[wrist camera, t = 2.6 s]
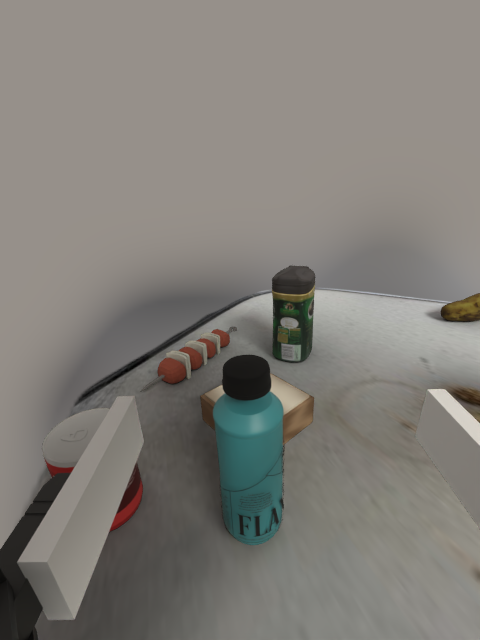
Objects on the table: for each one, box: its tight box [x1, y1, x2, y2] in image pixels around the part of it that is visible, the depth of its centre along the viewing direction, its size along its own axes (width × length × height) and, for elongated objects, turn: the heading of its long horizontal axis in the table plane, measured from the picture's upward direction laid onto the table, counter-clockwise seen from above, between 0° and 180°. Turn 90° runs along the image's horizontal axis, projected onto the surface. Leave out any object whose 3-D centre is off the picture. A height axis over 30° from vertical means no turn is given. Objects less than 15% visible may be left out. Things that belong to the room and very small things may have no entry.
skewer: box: [140, 327, 237, 392], centre depth 63 cm, size 5×5×30 cm
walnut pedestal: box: [200, 373, 314, 444], centre depth 46 cm, size 12×12×5 cm
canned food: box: [42, 408, 143, 532], centre depth 33 cm, size 8×8×11 cm
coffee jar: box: [272, 266, 315, 362], centre depth 62 cm, size 10×8×19 cm
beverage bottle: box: [213, 355, 285, 545], centre depth 28 cm, size 6×7×20 cm
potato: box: [441, 293, 480, 321], centre depth 74 cm, size 8×13×8 cm, turn 58°
